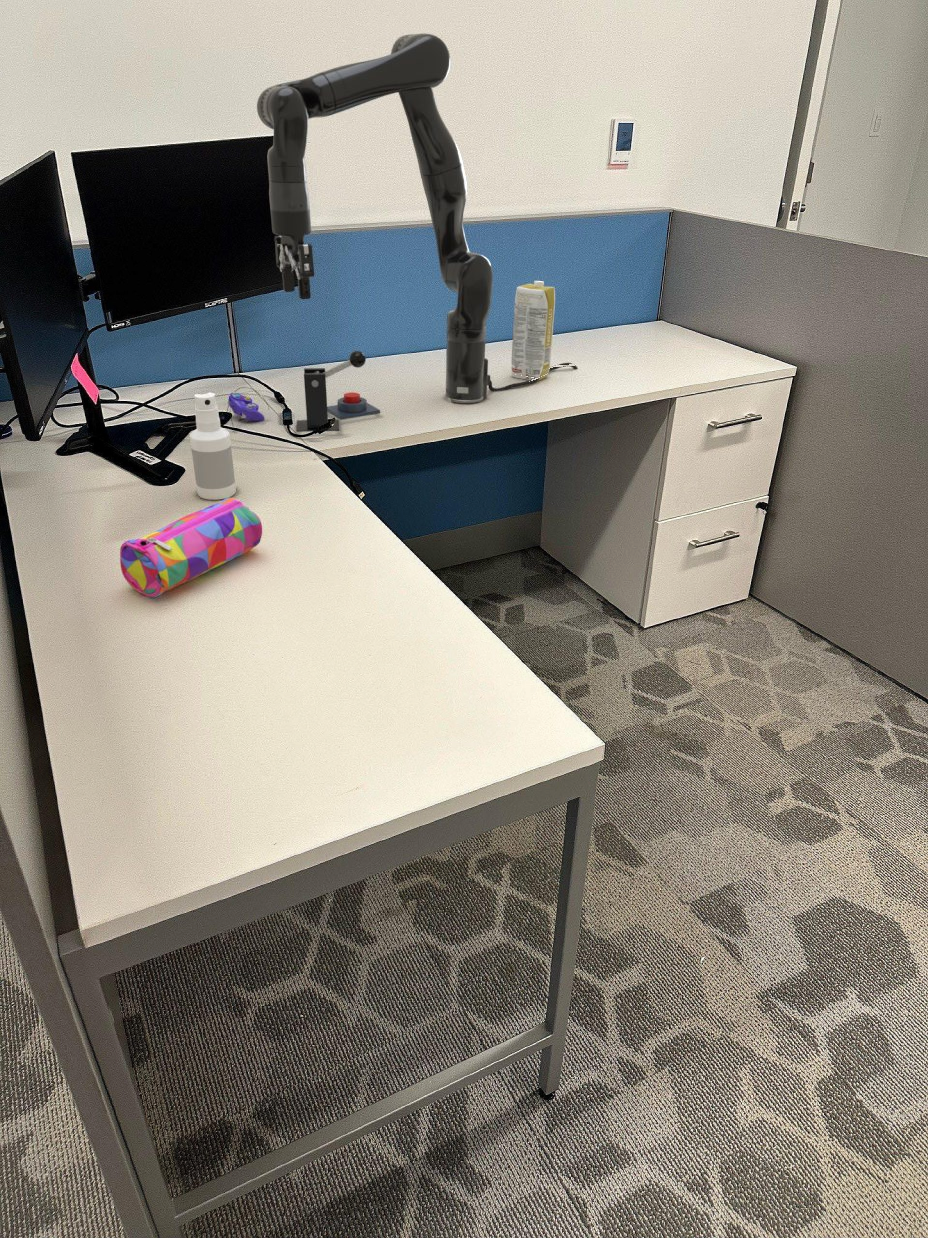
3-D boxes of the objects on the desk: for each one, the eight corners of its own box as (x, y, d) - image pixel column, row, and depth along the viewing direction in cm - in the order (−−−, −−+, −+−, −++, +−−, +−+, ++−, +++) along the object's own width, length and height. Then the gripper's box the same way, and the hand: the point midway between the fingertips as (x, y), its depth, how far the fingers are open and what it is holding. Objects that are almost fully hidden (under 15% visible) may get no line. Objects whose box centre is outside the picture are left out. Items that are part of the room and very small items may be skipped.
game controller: (280, 406, 190) (241, 406, 183) (270, 438, 194) (231, 439, 187) (256, 383, 194) (217, 382, 187) (247, 415, 199) (208, 415, 191)
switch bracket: (338, 424, 192) (335, 366, 186) (339, 435, 186) (336, 375, 180) (297, 425, 191) (293, 366, 184) (296, 435, 185) (292, 375, 178)
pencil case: (161, 610, 121) (151, 552, 116) (116, 592, 125) (105, 535, 120) (270, 553, 137) (265, 500, 132) (226, 538, 141) (220, 486, 136)
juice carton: (552, 376, 231) (560, 281, 218) (538, 383, 225) (545, 285, 213) (521, 370, 235) (527, 277, 223) (507, 377, 229) (512, 281, 217)
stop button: (355, 398, 198) (355, 391, 198) (362, 403, 196) (362, 395, 195) (341, 401, 197) (341, 393, 196) (348, 405, 194) (348, 397, 193)
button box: (364, 407, 203) (363, 392, 201) (380, 417, 197) (380, 402, 196) (325, 413, 198) (324, 398, 197) (340, 423, 193) (339, 408, 191)
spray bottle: (202, 502, 153) (188, 402, 144) (193, 489, 158) (179, 391, 149) (240, 496, 156) (229, 397, 147) (230, 483, 161) (219, 387, 152)
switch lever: (368, 360, 184) (360, 346, 182) (368, 364, 181) (361, 350, 179) (313, 387, 185) (305, 373, 184) (313, 392, 182) (305, 377, 181)
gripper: (322, 210, 164) (328, 299, 173) (294, 202, 175) (301, 287, 183) (285, 211, 161) (292, 303, 169) (258, 204, 171) (267, 290, 180)
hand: (296, 294), depth 176 cm, fingers open, 8 cm apart
